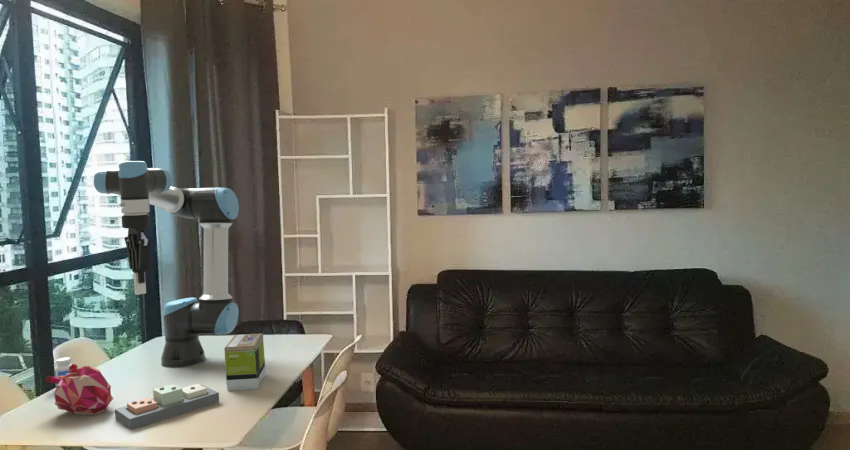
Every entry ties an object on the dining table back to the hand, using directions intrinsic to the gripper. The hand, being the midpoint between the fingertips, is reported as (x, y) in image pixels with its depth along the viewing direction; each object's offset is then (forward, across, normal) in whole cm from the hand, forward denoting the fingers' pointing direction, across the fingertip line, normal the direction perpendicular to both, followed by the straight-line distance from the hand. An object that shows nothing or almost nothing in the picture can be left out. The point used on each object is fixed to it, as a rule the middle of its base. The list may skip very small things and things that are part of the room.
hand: (140, 293), depth 179 cm
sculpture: (+35, -12, -14) cm, 39 cm away
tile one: (+34, +8, +10) cm, 36 cm away
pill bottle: (+35, -38, -11) cm, 53 cm away
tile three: (+34, +8, -5) cm, 35 cm away
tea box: (+35, +4, +31) cm, 47 cm away
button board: (+34, +8, +3) cm, 35 cm away
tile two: (+32, +8, +3) cm, 33 cm away
